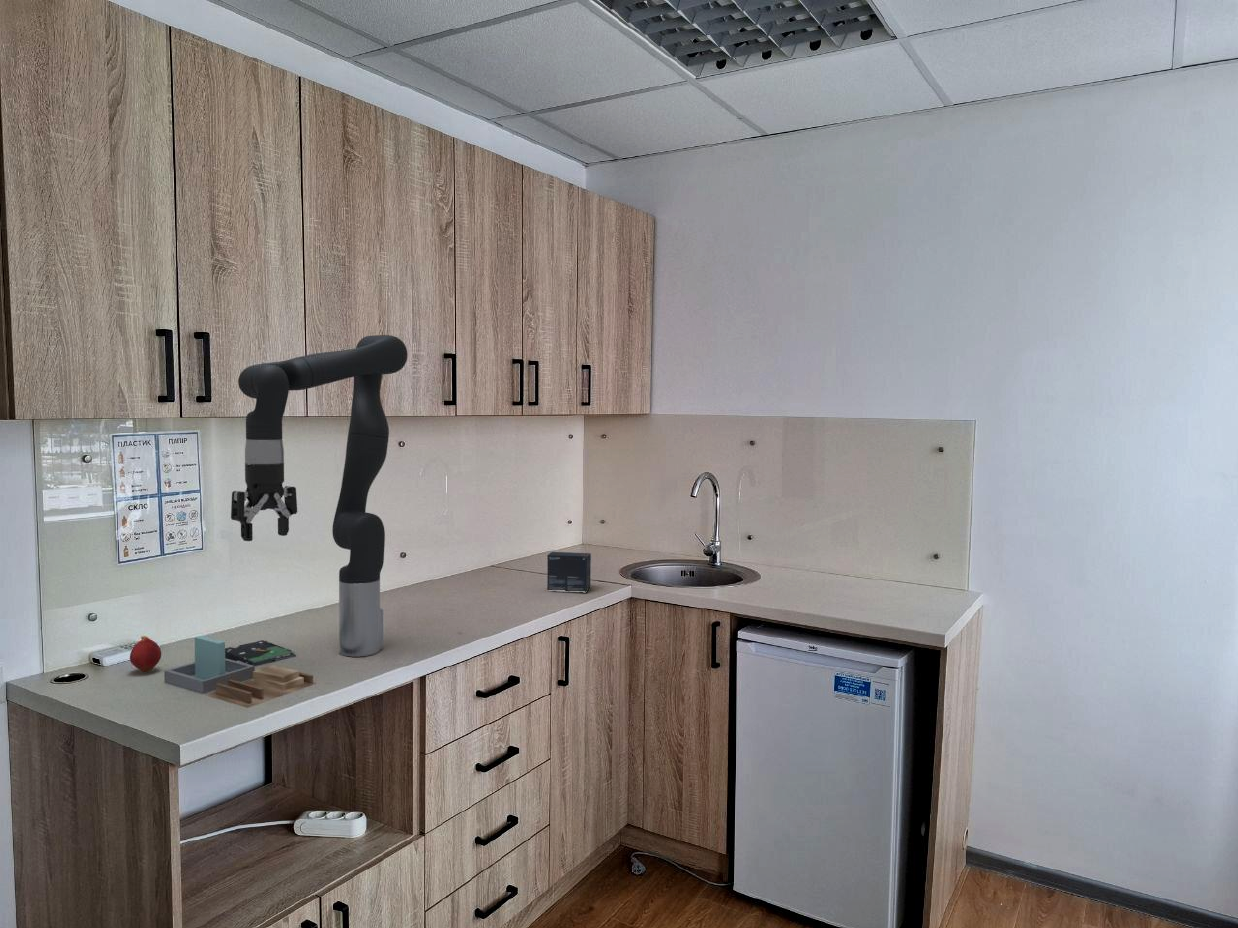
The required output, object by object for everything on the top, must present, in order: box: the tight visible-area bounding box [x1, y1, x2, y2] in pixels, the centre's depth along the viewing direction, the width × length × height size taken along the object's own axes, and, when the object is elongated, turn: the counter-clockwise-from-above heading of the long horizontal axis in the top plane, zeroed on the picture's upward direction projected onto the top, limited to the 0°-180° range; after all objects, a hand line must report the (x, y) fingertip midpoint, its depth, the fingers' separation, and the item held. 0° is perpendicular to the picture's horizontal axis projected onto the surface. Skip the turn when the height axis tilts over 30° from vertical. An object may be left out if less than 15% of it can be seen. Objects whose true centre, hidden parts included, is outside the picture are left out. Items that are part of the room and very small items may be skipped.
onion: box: [129, 635, 162, 673], centre depth 177 cm, size 6×6×8 cm
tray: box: [163, 658, 256, 695], centre depth 170 cm, size 12×13×4 cm
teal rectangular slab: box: [194, 635, 226, 680], centre depth 169 cm, size 1×8×9 cm, turn 60°
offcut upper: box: [253, 665, 300, 683], centre depth 168 cm, size 4×8×1 cm, turn 67°
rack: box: [204, 665, 317, 709], centre depth 165 cm, size 16×13×3 cm
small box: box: [546, 551, 592, 592], centre depth 263 cm, size 13×7×12 cm, turn 81°
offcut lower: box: [253, 677, 304, 691], centre depth 168 cm, size 5×9×1 cm, turn 61°
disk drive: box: [225, 640, 297, 667], centre depth 187 cm, size 10×3×15 cm
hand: (265, 538), depth 172 cm, fingers open, 8 cm apart
